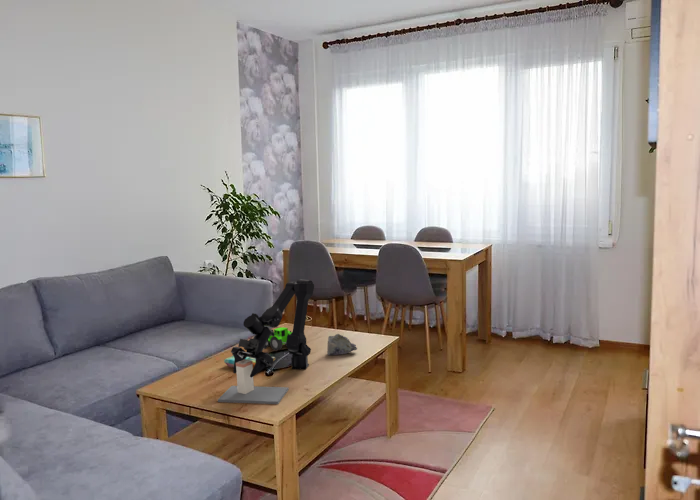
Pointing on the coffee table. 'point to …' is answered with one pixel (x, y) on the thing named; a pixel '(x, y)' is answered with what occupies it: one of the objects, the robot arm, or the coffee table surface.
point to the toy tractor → (278, 338)
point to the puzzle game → (231, 360)
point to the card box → (244, 376)
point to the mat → (255, 395)
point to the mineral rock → (339, 345)
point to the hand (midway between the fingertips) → (242, 375)
